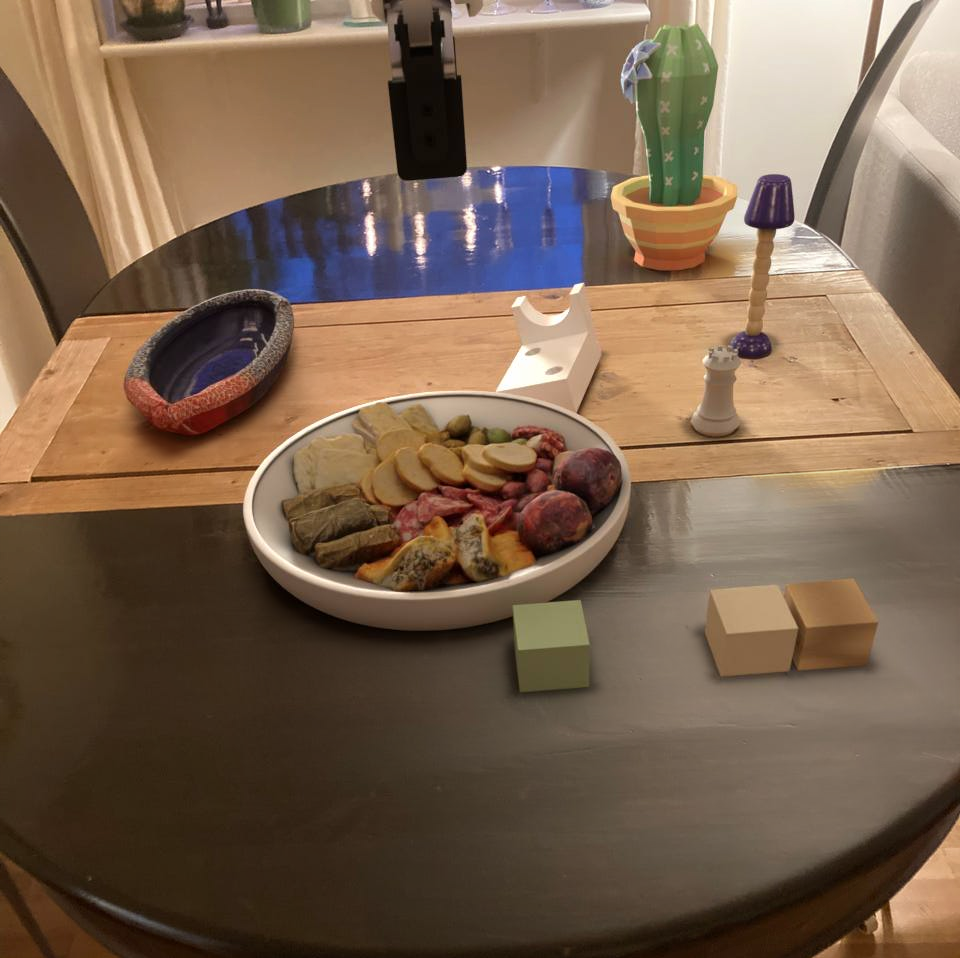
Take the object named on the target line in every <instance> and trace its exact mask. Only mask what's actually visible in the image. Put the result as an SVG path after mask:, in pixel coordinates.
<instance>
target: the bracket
mask: <svg viewBox="0 0 960 958" xmlns="http://www.w3.org/2000/svg"><path fill="white" fill-rule="evenodd" d="M568 296H569V308H568V309H566V310H565V311H563V312H561V313H559V314H554V315H551V314H545V313H542V312H540V311H539V310H537V309H536V308H535V307H533V305H532V304H531V303H530V302H529V299H528V297H527V295H523V296H522V295H521V296H518V297H517V298H516V299H515V301H514V302H513V303H512V305H511V307H510V308H511V312H512V315H513V319H514V322H515V325H516V329H517V332H518V335H519V339H520V343H521V347H520V349H519V351H518V352H517V354H516V356H515V357H514V359H513V360H512V362H511V364H510V366H509V367H508V369H507V371H506V372H505V374H504V375H503V378H502V380H501V381H500V383H499V385H498V387H497V388H496V390H495V392H497V393H506V394H512V395H518V396H524V397H529V398H533V399H537V400H541V401H545V402H548V403H551V404H554V405H557V406H560V407H562V408H565V409H567V410H570V411H572V412H574V413H576V414H578V410H579V408H580V406H581V403H582V401H583V399H584V396H585V394H586V392H587V389H588V387H589V385H590V383H591V380H592V378H593V375H594V374H595V371H596V368H597V366H598V365H599V361H600V359H601V357H602V348H601V345H600V341H599V337H598V333H597V329H596V325H595V322H594V317H593V314H592V309H591V305H590V301H589V298H588V294H587V289H586V286H585V282H580V283H576V284H574V285H573V287H572V288H571V290H570V293H569V294H568Z"/></svg>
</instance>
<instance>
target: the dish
mask: <svg viewBox="0 0 960 958" xmlns="http://www.w3.org/2000/svg"><path fill="white" fill-rule="evenodd" d="M294 331H295V316H294V312H293V307H292V304H291V302H290V301H289V300H288V299H287V298H285V297H283V296H282V295H280V294H278V293H276V292H275V291H274V292H273V291H270V290H265V289H255V288H253V289H241V290H236V291H232V292H231V291H230V292H226V293H222V294H220V295H217V296H213V297H211V298H209V299H207V300H204V301H201V302H200V303H197V304H195V305H193V306H191V307H190V308H187V309H186V310H184V311H182V312H181V313H179V314H177V315H176V316H174V317H172V318H171V319H170V320H168V321H167V322H165V323H164V324H163V325H162V326H161V327H159V328H158V329H157V330H156V331H154V332H153V333H152V334H151V335H150V337H149V338H147V339H146V340H145V341H144V343H143V344H142V345H141V346H140V348H139V349H138V350H137V352H136V353H135V354H134V356H133V357H132V359H131V361H130V363H129V365H128V367H127V368H126V369H127V370H126V372H125V375H124V379H123V390H124V394H125V398H126V400H127V401H128V402H129V403H130V404H131V405H132V406H133V407H135V408H136V409H137V411H138V412H139V413H140V414H141V415H143V416H144V417H145V418H146V420H148V423H151V425H153V426H154V427H156V428H158V429H159V430H161V431H165V432H170V433H177V434H181V435H189V436H190V435H192V436H194V435H203V434H204V433H206V432H209V431H211V430H213V429H214V428H216V427H218V426H220V425H221V424H223V423H225V422H227V421H228V420H230V419H232V418H234V417H236V416H238V415H240V414H241V413H243V412H245V411H246V410H248V409H250V408H251V407H252V406H253V405H255V404H256V403H257V402H258V401H260V400H261V399H262V398H263V397H264V395H265V394H266V393H267V392H268V391H269V390H270V388H272V386H273V385H274V383H275V382H276V380H277V379H278V378H279V376H280V375H281V373H282V370H283V368H284V367H285V364H286V361H287V358H288V355H289V353H290V349H291V344H292V341H293V340H292V339H293V335H294Z"/></svg>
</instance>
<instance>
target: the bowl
mask: <svg viewBox="0 0 960 958" xmlns="http://www.w3.org/2000/svg"><path fill="white" fill-rule="evenodd" d="M630 470H631V469H630V467H629V464H628V461H627V459H626V457H625V455H624V453H623V451H622V449H621V448H620V446H619V445H618V444H617V443H616V441H615V440H614V439H613V438H612V437H611V436H610V435H609V434H608V433H607V432H606V431H605V430H603V429H602V428H601V427H600V426H599V425H597V424H596V423H594V422H592V421H590V419H588V418H585V416H582V415H580V414H578V413H574V412H572V411H570V410H567V409H565V408H562V407H560V406H557V405H554V404H551V403H548V402H545V401H541V400H537V399H533V398H529V397H524V396H518V395H512V394H506V393H497V392H496V391H486V390H485V391H483V390H441V391H439V390H438V391H428V392H427V391H426V392H419V393H410V394H404V395H399V396H392V397H387V398H385V399H383V398H382V399H379V400H376V401H371V402H367V403H364V404H361V405H357V406H354V407H351V408H348V409H345V410H343V411H340V412H338V413H335V414H332V415H330V416H328V417H325V418H323V419H321V420H319V421H317V422H315V423H313V424H311V425H309V426H307V427H305V428H303V429H302V430H300V431H299V432H297V433H296V434H294V435H292V436H291V437H289V438H288V439H286V440H285V441H284V442H283V443H281V444H280V445H279V446H277V447H276V448H275V449H274V450H273V451H272V452H271V453H269V455H268V456H267V457H266V458H265V459H264V460H263V461H262V462H261V463H260V465H259V466H258V468H257V469H256V470H255V472H254V473H253V474H252V476H251V478H250V480H249V482H248V485H247V487H246V490H245V493H244V495H243V503H242V518H243V522H244V527H245V530H246V533H247V536H248V539H249V543H250V545H251V547H252V549H253V551H254V554H255V555H256V557H257V559H258V560H259V562H260V564H261V565H262V567H263V568H264V569H265V570H266V571H267V573H268V574H269V575H270V576H271V578H273V580H274V581H275V582H276V583H277V584H278V585H280V586H281V587H282V588H283V589H285V591H287V592H288V593H290V594H291V595H292V596H293V597H294V598H296V599H298V600H300V601H301V602H302V603H304V604H307V605H308V606H310V607H312V608H313V609H315V610H318V611H320V612H323V614H324V613H325V614H327V615H329V616H332V617H334V618H337V619H339V620H343V621H346V622H350V623H354V624H358V625H363V626H367V627H373V628H379V629H385V630H393V631H394V630H395V631H409V632H410V631H411V632H413V631H414V632H416V631H417V632H429V631H430V632H431V631H433V632H434V631H435V632H436V631H448V630H449V631H450V630H457V629H458V630H459V629H463V628H471V627H476V626H481V625H487V624H490V623H491V624H492V623H494V622H495V623H496V622H498V621H502V620H506V619H509V618H513V605H522V604H535V603H548V602H551V601H552V600H554V599H555V598H557V597H559V596H561V595H562V594H564V593H566V592H567V591H568V590H570V589H572V588H573V587H575V586H576V585H577V584H579V583H580V582H581V581H582V580H583V579H585V578H586V577H587V576H588V575H589V574H591V572H593V571H594V569H595V568H596V567H598V566H599V564H601V562H602V561H603V560H604V559H605V557H607V555H608V554H609V552H610V551H611V549H612V548H613V547H614V545H615V543H616V542H617V540H618V538H619V536H620V534H621V532H622V530H623V528H624V526H625V522H626V519H627V516H628V512H629V507H630V501H631V488H632V477H631V471H630Z"/></svg>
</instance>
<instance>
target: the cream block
mask: <svg viewBox="0 0 960 958" xmlns="http://www.w3.org/2000/svg"><path fill="white" fill-rule="evenodd" d="M706 611H707V612H706V619H705V628H704V634H705V637H706V640H707V642H708V645H709V649H710V650H711V651H710V652H711V654H712V657H713V660H714V662H715V665H716V668H717V670H718V673H719V676H720V677H731V676H745V675H757V674H758V675H759V674H771V673H782V672H790V670H791V666H792V661H793V659H792V656H793V651H794V646H795V642H796V637H797V632H798V627H797V624H796V622H795V620H794V618H793V616H792V614H791V612H790V610H789V607H788V605H787V603H786V601H785V599H784V594H783V593H782V590H781V588H780V586H779V585H778V584H769V585H768V584H767V585H757V586H756V585H755V586H742V587H731V588H729V587H728V588H717V589H716V588H715V589H710V590H709V595H708V603H707V610H706Z"/></svg>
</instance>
